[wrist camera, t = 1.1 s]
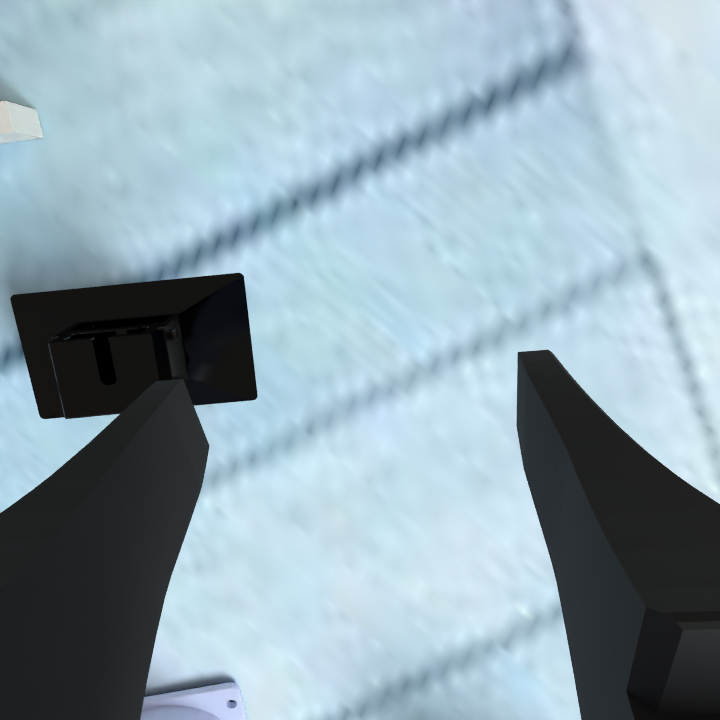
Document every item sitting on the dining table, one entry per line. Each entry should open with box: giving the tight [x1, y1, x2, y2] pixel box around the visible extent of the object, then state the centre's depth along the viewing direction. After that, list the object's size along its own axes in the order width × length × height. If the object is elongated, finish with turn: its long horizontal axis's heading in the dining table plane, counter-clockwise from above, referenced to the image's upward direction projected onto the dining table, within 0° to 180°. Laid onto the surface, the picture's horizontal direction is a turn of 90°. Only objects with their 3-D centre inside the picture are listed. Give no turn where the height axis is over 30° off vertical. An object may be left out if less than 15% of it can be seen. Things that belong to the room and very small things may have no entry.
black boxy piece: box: [10, 273, 257, 419], centre depth 24 cm, size 12×7×5 cm, turn 94°
